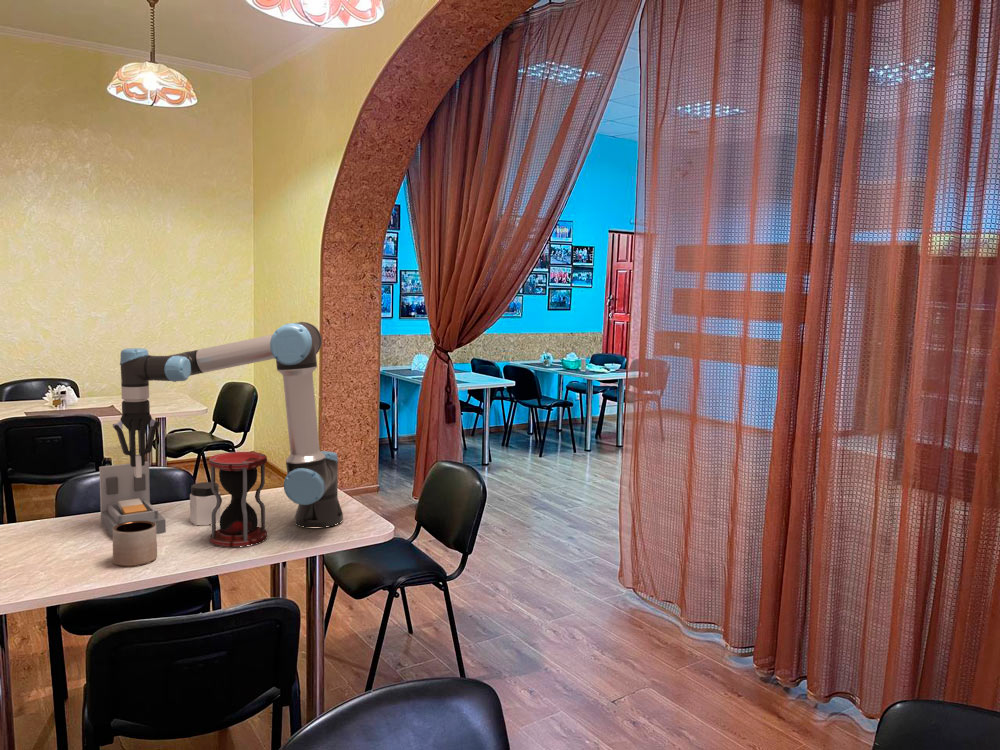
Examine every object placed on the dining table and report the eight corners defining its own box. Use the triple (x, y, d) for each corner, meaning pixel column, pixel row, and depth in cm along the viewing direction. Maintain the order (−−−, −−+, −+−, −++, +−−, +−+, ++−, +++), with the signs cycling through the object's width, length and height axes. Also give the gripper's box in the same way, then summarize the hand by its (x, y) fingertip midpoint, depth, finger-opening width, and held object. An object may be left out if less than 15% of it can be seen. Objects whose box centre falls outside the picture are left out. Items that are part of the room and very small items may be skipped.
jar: (186, 521, 242) (185, 484, 241) (211, 516, 248) (210, 480, 247) (199, 528, 236) (198, 490, 235) (224, 522, 242) (223, 485, 241)
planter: (107, 559, 207) (106, 525, 206) (148, 550, 215) (147, 517, 214) (121, 570, 200) (120, 535, 199) (163, 561, 207) (162, 527, 206)
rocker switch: (147, 515, 232) (147, 509, 232) (124, 518, 228) (124, 513, 228) (139, 503, 240) (139, 498, 239) (117, 506, 236) (117, 501, 235)
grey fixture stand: (165, 532, 231) (164, 474, 229) (115, 540, 222) (113, 480, 220) (148, 515, 247) (147, 461, 245) (101, 523, 238) (99, 466, 236)
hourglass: (217, 551, 216) (216, 465, 213) (204, 535, 229) (203, 454, 226) (274, 542, 225) (273, 459, 222) (258, 527, 238) (257, 449, 235)
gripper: (155, 396, 235) (157, 471, 238) (108, 399, 227) (111, 477, 230) (162, 399, 230) (164, 476, 232) (114, 403, 221) (117, 482, 224)
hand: (138, 476), depth 231 cm, fingers closed
